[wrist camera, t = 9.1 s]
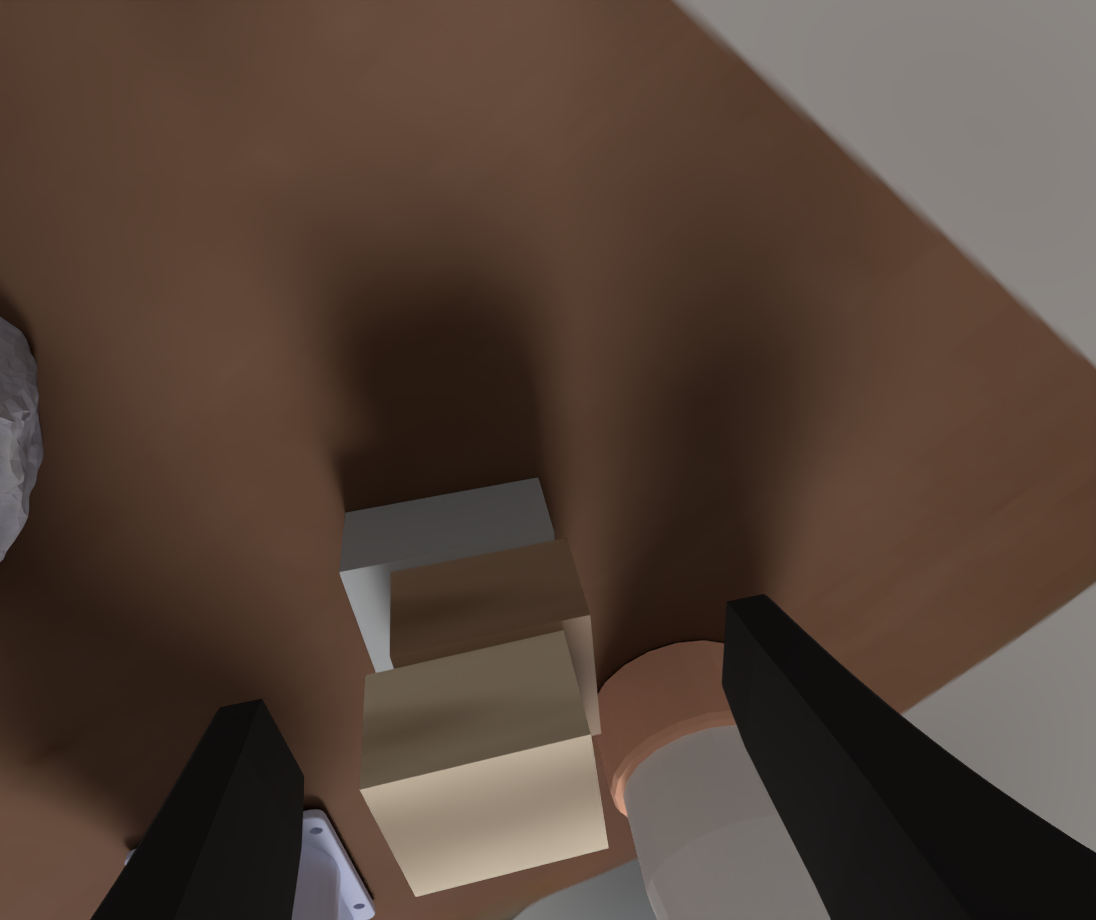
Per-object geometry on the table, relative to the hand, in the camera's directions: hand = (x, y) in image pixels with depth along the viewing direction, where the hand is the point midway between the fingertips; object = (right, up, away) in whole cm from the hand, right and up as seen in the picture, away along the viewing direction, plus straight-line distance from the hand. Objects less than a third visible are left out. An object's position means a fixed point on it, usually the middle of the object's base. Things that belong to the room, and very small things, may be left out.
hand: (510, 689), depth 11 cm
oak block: (-1, -3, +8) cm, 8 cm away
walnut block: (-1, -1, +10) cm, 10 cm away
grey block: (-2, 0, +12) cm, 13 cm away
